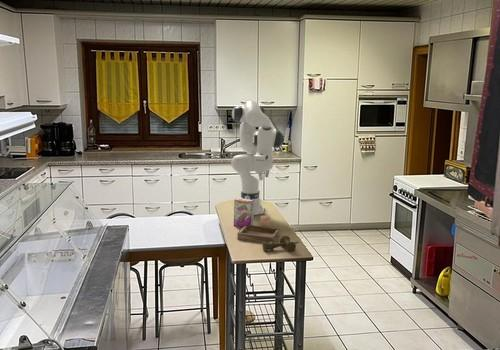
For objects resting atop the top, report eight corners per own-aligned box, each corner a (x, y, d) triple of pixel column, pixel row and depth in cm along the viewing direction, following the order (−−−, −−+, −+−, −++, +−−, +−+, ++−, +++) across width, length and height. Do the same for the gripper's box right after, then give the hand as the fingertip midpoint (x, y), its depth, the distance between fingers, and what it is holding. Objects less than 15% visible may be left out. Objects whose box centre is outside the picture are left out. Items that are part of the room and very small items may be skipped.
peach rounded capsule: (261, 227, 267) (262, 214, 265) (270, 228, 265) (271, 216, 264) (259, 230, 262) (259, 217, 260) (268, 231, 260) (268, 218, 258)
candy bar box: (233, 225, 269) (233, 199, 265) (236, 223, 274) (236, 197, 270) (250, 228, 265) (251, 201, 262) (253, 225, 270) (254, 199, 267)
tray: (246, 230, 262) (246, 224, 261) (279, 234, 256) (279, 228, 255) (237, 239, 247) (237, 233, 246) (272, 243, 241) (272, 237, 240)
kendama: (260, 248, 236) (295, 244, 242) (266, 255, 227) (302, 251, 233) (260, 237, 234) (295, 234, 240) (266, 244, 226) (302, 240, 231)
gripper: (265, 152, 265) (264, 175, 268) (253, 156, 246) (252, 181, 249) (275, 153, 263) (274, 176, 266) (263, 157, 244) (263, 182, 247)
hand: (263, 178), depth 257 cm, fingers open, 8 cm apart
